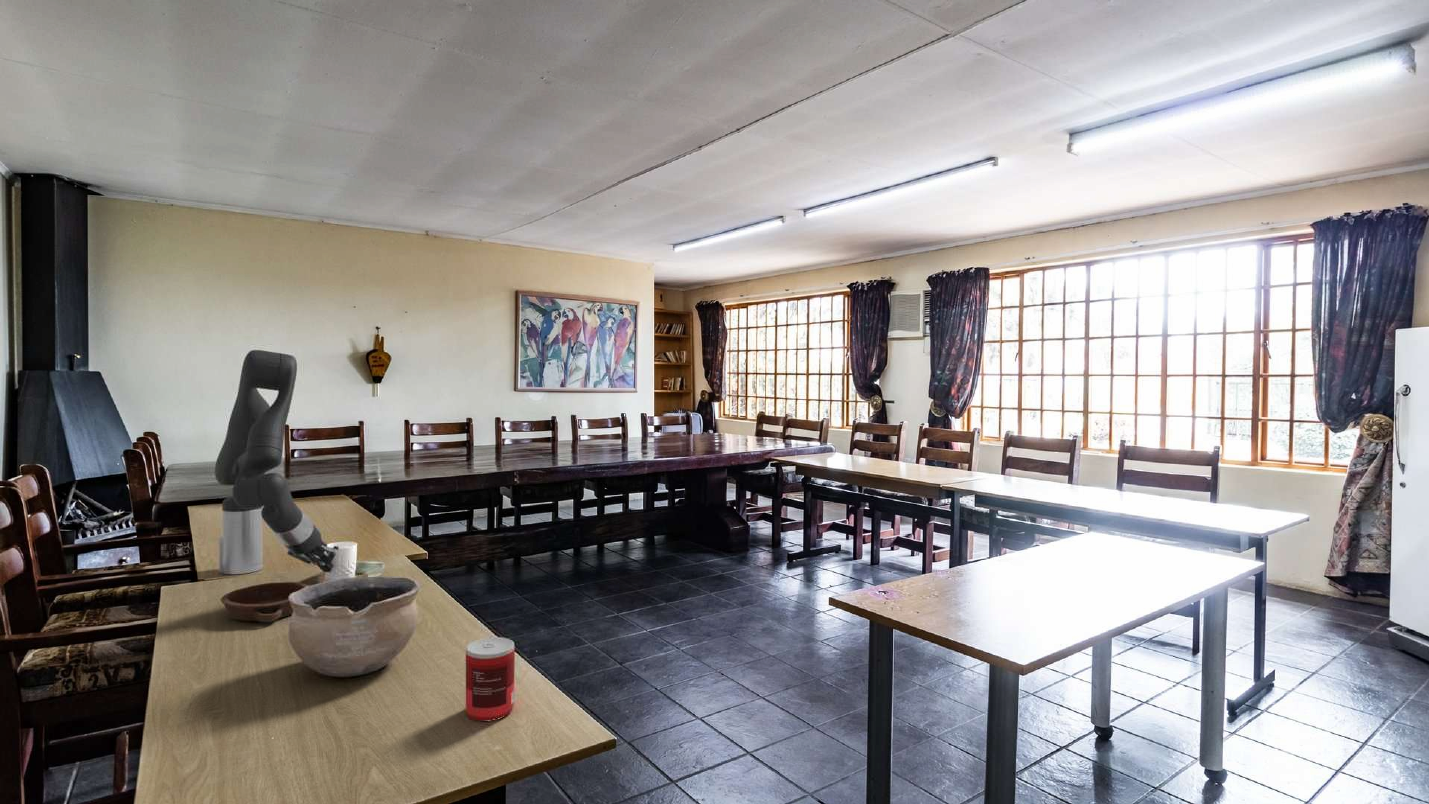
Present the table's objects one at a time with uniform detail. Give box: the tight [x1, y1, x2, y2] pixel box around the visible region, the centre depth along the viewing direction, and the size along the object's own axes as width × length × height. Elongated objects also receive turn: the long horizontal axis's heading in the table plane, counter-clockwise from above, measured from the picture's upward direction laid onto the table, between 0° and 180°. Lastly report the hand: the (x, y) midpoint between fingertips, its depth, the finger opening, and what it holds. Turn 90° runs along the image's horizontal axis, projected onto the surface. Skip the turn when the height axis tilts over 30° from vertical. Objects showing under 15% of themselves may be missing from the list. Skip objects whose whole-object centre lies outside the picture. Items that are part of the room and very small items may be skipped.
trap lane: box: [295, 560, 385, 586], centre depth 186 cm, size 13×24×3 cm, turn 175°
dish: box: [220, 581, 308, 623], centre depth 163 cm, size 18×22×5 cm
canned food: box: [465, 636, 516, 722], centre depth 117 cm, size 8×8×11 cm
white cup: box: [325, 541, 358, 582], centre depth 187 cm, size 8×8×10 cm
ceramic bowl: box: [287, 576, 420, 678], centre depth 133 cm, size 22×22×15 cm
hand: (328, 569), depth 183 cm, fingers closed
